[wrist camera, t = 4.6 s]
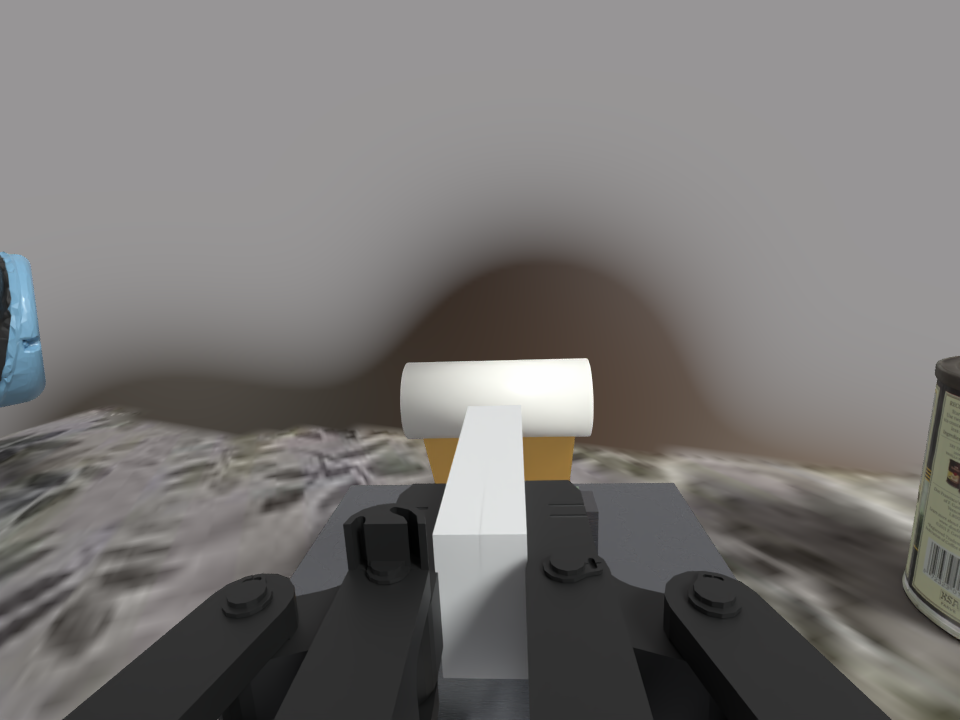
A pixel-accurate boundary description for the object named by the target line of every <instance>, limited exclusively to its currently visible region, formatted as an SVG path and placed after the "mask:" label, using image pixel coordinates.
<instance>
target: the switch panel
mask: <svg viewBox="0 0 960 720" xmlns="http://www.w3.org/2000/svg"><path fill="white" fill-rule="evenodd" d="M573 485H575V486H576V487H577V488H578V489H579V490H580V491H581V494H582V498H583V501H584V506H585V509H586V513H587V517H588V520H589V524H590V527H591V531H592V535H593V539H594V542H595V546H596V550H597V554H598V556H600V557H601V558H603V559H604V560H605V562H606V564H607V565H608V567H609V568H610V571H611V574H612V575H613V576H614V577H616V578H617V579H619V580H621V581H623V582H625V583H627V584H629V585H632V586H636V587H639V588H643V589H647V590H652V591H656V592H661V593H665V586H666V583H667V582H668V581H669V580H670V579H671V578H672V577H673V576H675V575H678V574H681V573H684V572H687V571H708V572H713V573H714V572H715V573H719V574H723V575H726V576H728V577H730V578H733V579H735V580H737V579H736V578H735V576H734V575H733V573H732V572H731V570H730V569H729V567H728V566H727V564H726V563H725V561H724V559H723V558H722V556H721V555H720V553H719V552H718V550H717V549H716V547H715V546H714V544H713V543H712V541H711V540H710V538H709V536H708V535H707V533H706V532H705V530H704V529H703V527H702V526H701V524H700V523H699V521H698V520H697V518H696V516H695V515H694V513H693V512H692V510H691V509H690V507H689V506H688V504H687V503H686V501H685V500H684V498H683V496H682V495H681V493H680V492H679V490H678V489H677V487H676V486H675V484H674V483H619V484H573ZM410 486H411V485H351V487H350V488H349V490H348V491H347V493H346V494H345V496H344V498H343V499H342V501H341V502H340V504H339V505H338V507H337V508H336V510H335V511H334V513H333V514H332V516H331V517H330V519H329V520H328V522H327V524H326V525H325V527H324V528H323V530H322V531H321V533H320V534H319V536H318V537H317V539H316V540H315V542H314V543H313V545H312V547H311V548H310V550H309V551H308V553H307V554H306V556H305V557H304V559H303V560H302V562H301V563H300V565H299V566H298V568H297V569H296V571H295V573H294V574H293V576H292V577H291V579H290V581H291V582H292V584H293V585H294V587H295V594H296V596H300V595H304V594H309V593H314V592H318V591H323V590H326V589H330V588H333V587H337V586H339V585H341V584H342V582H343V580H344V578H345V576H346V574H347V572H348V563H347V554H346V546H345V537H344V529H343V524H344V523H345V522H346V521H347V520H348V519H349V517H350V516H352V515H354V514H355V513H357V512H359V511H361V510H363V509H366V508H369V507H372V506H376V505H381V504H390V503H396V502H397V499H398V497H399V495H400V494H401V493H402V492H404V491H405V490H406V489H408V488H409V487H410ZM438 691H439V705H440V706H439V712H438V719H437V720H530V712H529V679H476V678H443V670H442V657H441V663H440V669H439V674H438Z"/></svg>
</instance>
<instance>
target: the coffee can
mask: <svg viewBox="0 0 960 720" xmlns="http://www.w3.org/2000/svg"><path fill="white" fill-rule="evenodd" d="M935 375H936V377H937V384H936V389H935V396H934V402H933V408H932V415H931V420H930V425H929V432H928V438H927V444H926V450H925V456H924V462H923V468H922V474H921V480H920V486H919V492H918V499H917V505H916V511H915V517H914V523H913V530H912V536H911V541H910V547H909V553H908V559H907V565H906V569H905V571H904V574H903V577H902V582H903V587H904V590H905V592H906V594H907V596H908V597H909V599H910V600H911V601H912V603H913V604H914V605H915V606H916V607H917V609H918V610H919V611H921V612H922V613H923V614H924V615H925V616H927V617H928V618H929V619H930V620H931V621H933V622H934V623H935V624H936V625H938V626H939V627H941V628H942V629H944V630H945V631H946V632H948V633H949V634H951V635H953V636H954V637H956V638H957V639H959V640H960V356H955V357H949V358H946V359H942V360H940V361H938V362H937V364H936V369H935Z"/></svg>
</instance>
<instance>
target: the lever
mask: <svg viewBox="0 0 960 720" xmlns="http://www.w3.org/2000/svg"><path fill="white" fill-rule="evenodd" d="M500 405H521V415H522V438H523V460H524V481H535V480H569V481H570V474H571V465H572V457H573V448H574V440H575V439H574V438H575V436H590V435H591V432H592V426H593V385H592V375H591V369H590V364H589V361H588V359H587V358H585V359H543V360H505V361H504V360H502V361H463V362H462V361H461V362H420V363H407V364H406V365H405V367H404V370H403V374H402V380H401V394H400V406H401V419H402V425H403V430H404V433H405V436H406V437H407V438H408V439H424V443H425V447H426V451H427V454H428V458H429V462H430V466H431V469H432V473H433V477H434V481H435V484H438V483H447V481H448V477H449V473H450V470H451V466H452V463H453V459H454V455H455V452H456V448H457V445H458V441H459V437H460V434H461V430H462V427H463V423H464V419H465V416H466V412H467V408H468V406H500Z"/></svg>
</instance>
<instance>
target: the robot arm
mask: <svg viewBox="0 0 960 720" xmlns="http://www.w3.org/2000/svg"><path fill="white" fill-rule="evenodd" d="M45 384H46V380H45V372H44V365H43V357H42V350H41V342H40V334H39V327H38V318H37V310H36V303H35V295H34V287H33V280H32V273H31V266H30V263H29V261H28V260H27V259H26V258H25V257H23V256H21V255H15V254H7V253H5V252H0V407H5V406H10V405H14V404H19V403H24V402H28V401H31V400H33V399H35V398H37V397H38V396H39V395H40V394H41V393H42V392H43V390H44V388H45ZM343 529H344V537H345V546H346V554H347V563H348V572H347V574H346V576H345V578H344V580H343V582H342V584H341V585H339V586H337V587H333V588H330V589H326V590H323V591H318V592H314V593H309V594H304V595H300V596H296V594H295V587H294V585H293V584H292V582H291V581H290V579H289V578H287V577H284V576H281V575H279V574H257V575H251V576H247V577H244V578H242V579H240V580H237V581H235V582H232V583H230V584H228V585H226V586H225V587H223V588H222V589H220V590H219V591H217V592H216V593H214V594H213V595H212V596H210V597H209V598H208V599H207V600H205V601H204V602H203V603H202V604H201V605H199V606H198V607H197V608H196V609H195V610H193V611H192V612H191V613H190V614H189V615H187V616H186V617H185V618H184V619H183V620H181V621H180V622H179V623H178V624H177V625H175V626H174V627H173V628H172V629H171V630H169V631H168V632H167V633H166V634H165V635H163V636H162V637H161V638H160V639H159V640H157V641H156V642H155V643H154V644H153V645H151V646H150V647H149V648H148V649H147V650H145V651H144V652H143V653H142V654H141V655H139V656H138V657H137V658H136V659H135V660H133V661H132V662H131V663H130V664H129V665H127V666H126V667H125V668H124V669H123V670H121V671H120V672H119V673H118V674H117V675H115V676H114V677H113V678H112V679H111V680H109V681H108V682H107V683H106V684H105V685H103V686H102V687H101V688H100V689H99V690H97V691H96V692H95V693H94V694H93V695H91V696H90V697H89V698H88V699H87V700H85V701H84V702H83V703H82V704H81V705H79V706H78V707H77V708H76V709H75V710H73V711H72V712H71V713H70V714H69V715H67V716H66V717H65V718H64V719H63V720H217V719H218V718H219V720H437V719H438V712H439V706H440V705H439V691H438V674H439V669H440V663H441V657H442V670H443V678H476V679H529V712H530V720H891V719H890V718H889V717H888V716H887V715H886V714H885V713H884V712H883V711H882V710H881V709H880V708H879V707H878V706H877V705H875V704H874V703H873V702H872V701H871V700H870V699H869V698H868V697H867V696H866V695H865V694H864V693H863V692H862V691H861V690H859V689H858V688H857V687H856V686H855V685H854V684H853V683H852V682H851V681H850V680H849V679H848V678H847V677H846V676H845V675H843V674H842V673H841V672H840V671H839V670H838V669H837V668H836V667H835V666H834V665H833V664H832V663H831V662H830V661H829V660H827V659H826V658H825V657H824V656H823V655H822V654H821V653H820V652H819V651H818V650H817V649H816V648H815V647H814V646H813V645H811V644H810V643H809V642H808V641H807V640H806V639H805V638H804V637H803V636H802V635H801V634H800V633H799V632H798V631H797V630H795V629H794V628H793V627H792V626H791V625H790V624H789V623H788V622H787V621H786V620H785V619H784V618H783V617H782V616H781V615H779V614H778V613H777V612H776V611H775V610H774V609H773V608H772V607H771V606H770V605H769V604H768V603H767V602H766V601H765V600H764V599H762V598H761V597H760V596H759V595H758V594H757V593H756V592H755V591H753V590H752V589H750V588H749V587H748V586H746V585H745V584H743V583H742V582H740V581H738V580H735V579H733V578H730V577H728V576H726V575H723V574H719V573H715V572H714V573H713V572H708V571H687V572H684V573H681V574H678V575H675V576H673V577H672V578H671V579H670V580H669V581H668V582H667V583H666V586H665V593H661V592H656V591H652V590H647V589H643V588H639V587H636V586H632V585H629V584H627V583H625V582H623V581H621V580H619V579H617V578H616V577H614V576H613V575H612V574H611V571H610V568H609V567H608V565H607V564H606V562H605V560H604V559H603V558H601V557H600V556H598V554H597V550H596V546H595V542H594V539H593V535H592V531H591V527H590V524H589V520H588V517H587V513H586V509H585V506H584V501H583V498H582V494H581V491H580V490H579V489H578V488H577V487H576V486H575V485H573V484H572V483H571V482H570V481H569V480H535V481H524V460H523V438H522V415H521V405H500V406H468V408H467V412H466V416H465V419H464V423H463V427H462V430H461V434H460V437H459V441H458V445H457V448H456V452H455V455H454V459H453V463H452V466H451V470H450V473H449V477H448V481H447V483H438V484H413V485H411V486H410V487H409V488H408V489H406V490H405V491H404V492H402V493H401V494H400V495H399V497H398V499H397V502H396V503H390V504H381V505H376V506H372V507H369V508H366V509H363V510H361V511H359V512H357V513H355V514H354V515H352V516H350V517H349V519H348V520H347V521H346V522H345V523H344V524H343Z"/></svg>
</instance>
